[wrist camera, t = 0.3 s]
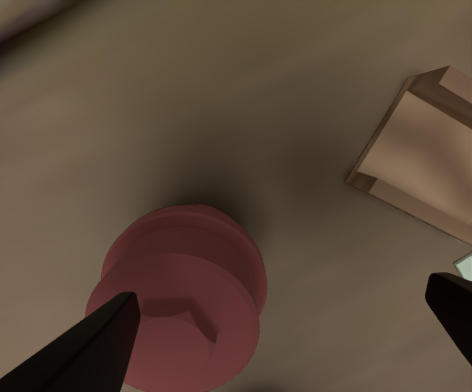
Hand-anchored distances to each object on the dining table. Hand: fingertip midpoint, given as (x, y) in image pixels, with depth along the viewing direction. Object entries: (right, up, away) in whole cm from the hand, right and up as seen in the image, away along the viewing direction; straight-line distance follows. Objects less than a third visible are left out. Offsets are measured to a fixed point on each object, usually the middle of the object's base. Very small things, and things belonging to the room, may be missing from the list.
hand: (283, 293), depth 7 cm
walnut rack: (+16, +6, +14) cm, 22 cm away
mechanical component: (-5, -1, +15) cm, 16 cm away
